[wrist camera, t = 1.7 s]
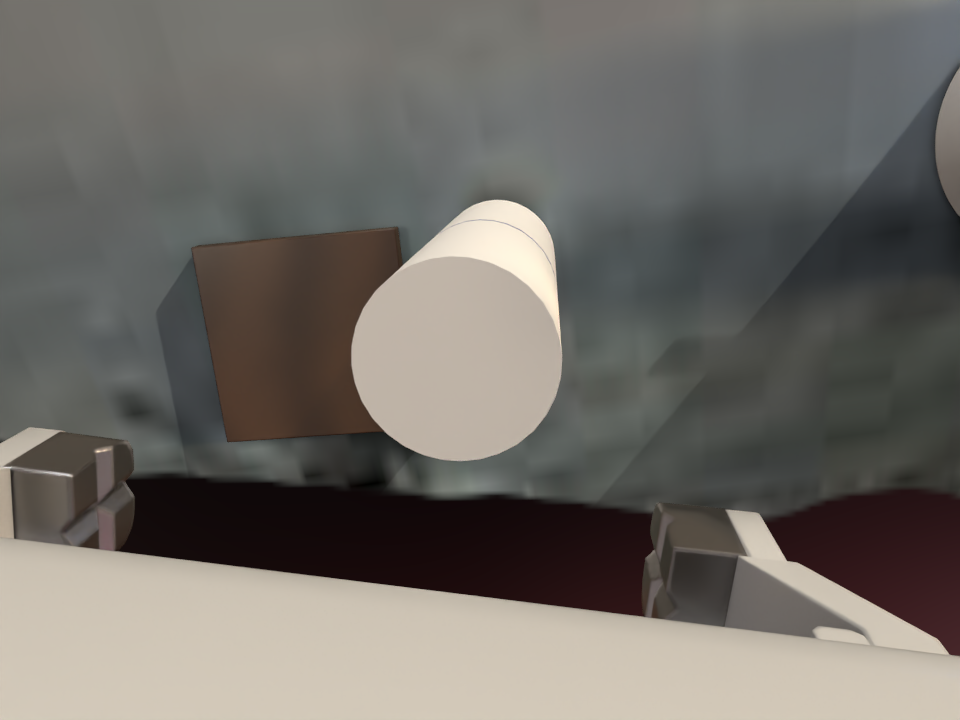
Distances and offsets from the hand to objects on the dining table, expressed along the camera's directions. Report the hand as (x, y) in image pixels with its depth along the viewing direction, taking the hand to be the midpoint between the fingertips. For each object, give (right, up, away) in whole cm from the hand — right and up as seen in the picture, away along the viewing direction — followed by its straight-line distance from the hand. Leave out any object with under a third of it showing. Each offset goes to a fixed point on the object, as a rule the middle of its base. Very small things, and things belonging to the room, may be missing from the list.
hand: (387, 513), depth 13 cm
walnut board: (-9, +4, +42) cm, 43 cm away
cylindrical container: (+3, +9, +40) cm, 41 cm away
